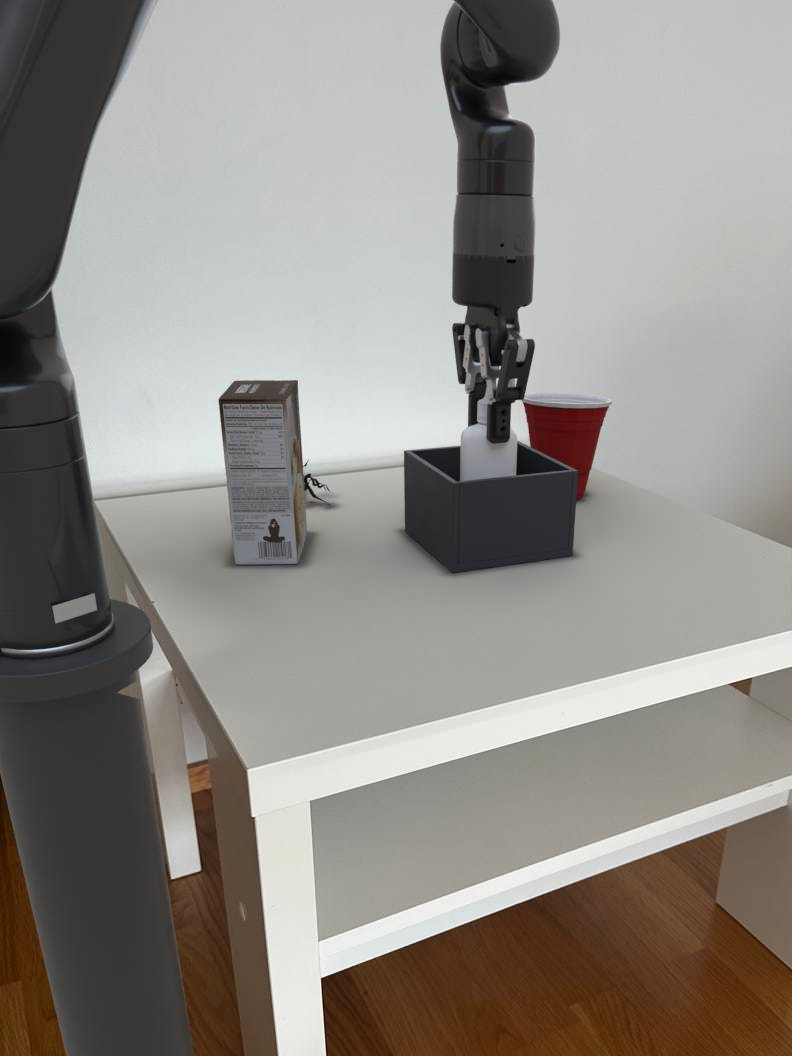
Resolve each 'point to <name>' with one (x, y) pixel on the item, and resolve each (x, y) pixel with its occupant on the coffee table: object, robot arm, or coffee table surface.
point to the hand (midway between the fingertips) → (488, 436)
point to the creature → (306, 485)
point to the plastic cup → (566, 429)
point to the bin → (489, 509)
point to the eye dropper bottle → (486, 450)
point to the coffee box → (264, 470)
